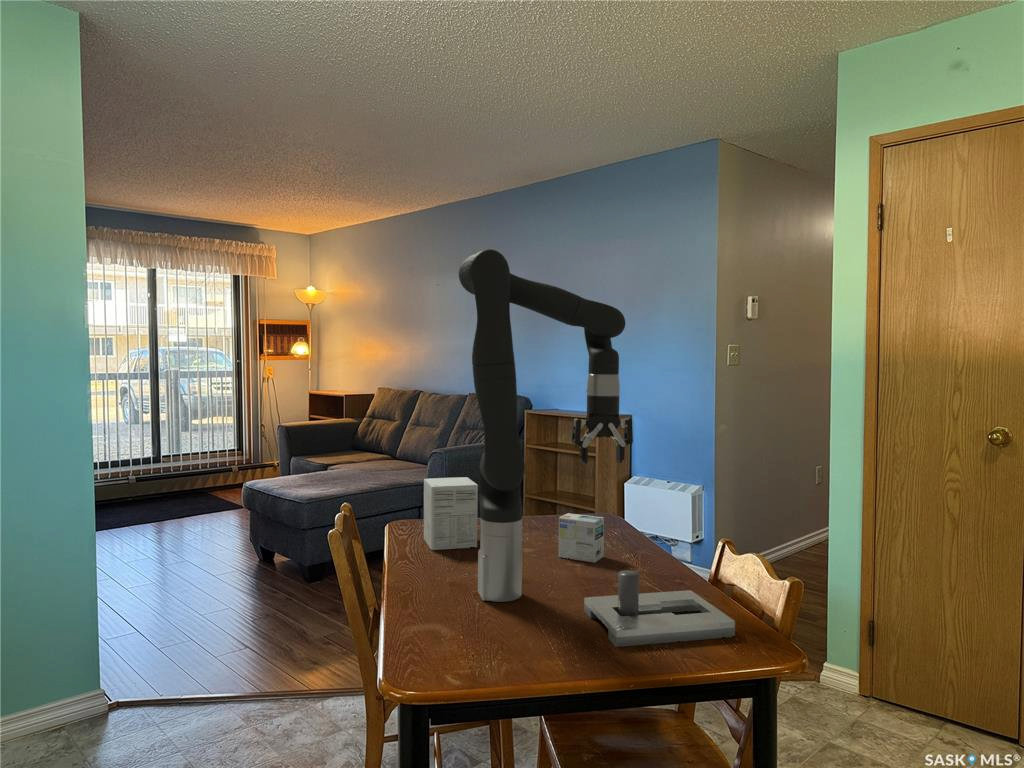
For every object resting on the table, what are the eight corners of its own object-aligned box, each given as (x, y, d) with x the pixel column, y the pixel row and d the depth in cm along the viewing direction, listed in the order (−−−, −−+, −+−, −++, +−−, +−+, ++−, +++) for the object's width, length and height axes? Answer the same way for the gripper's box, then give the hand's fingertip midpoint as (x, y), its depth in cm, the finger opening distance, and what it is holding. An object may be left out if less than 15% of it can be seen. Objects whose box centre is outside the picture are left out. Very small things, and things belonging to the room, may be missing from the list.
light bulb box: (604, 557, 186) (605, 516, 186) (595, 563, 180) (596, 521, 180) (567, 551, 191) (567, 512, 191) (557, 557, 185) (557, 517, 185)
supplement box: (478, 547, 194) (478, 484, 193) (430, 551, 190) (431, 486, 189) (467, 535, 206) (468, 476, 206) (422, 538, 203) (423, 478, 202)
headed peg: (619, 633, 135) (620, 579, 135) (607, 621, 141) (608, 569, 141) (648, 630, 137) (649, 577, 136) (635, 619, 142) (636, 568, 142)
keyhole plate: (616, 646, 129) (616, 630, 129) (584, 611, 146) (584, 597, 146) (734, 636, 134) (735, 621, 134) (690, 603, 152) (690, 590, 152)
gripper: (579, 394, 159) (578, 466, 160) (638, 394, 162) (636, 464, 163) (569, 392, 166) (568, 461, 167) (625, 392, 169) (624, 459, 170)
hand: (602, 462), depth 165 cm, fingers open, 8 cm apart
